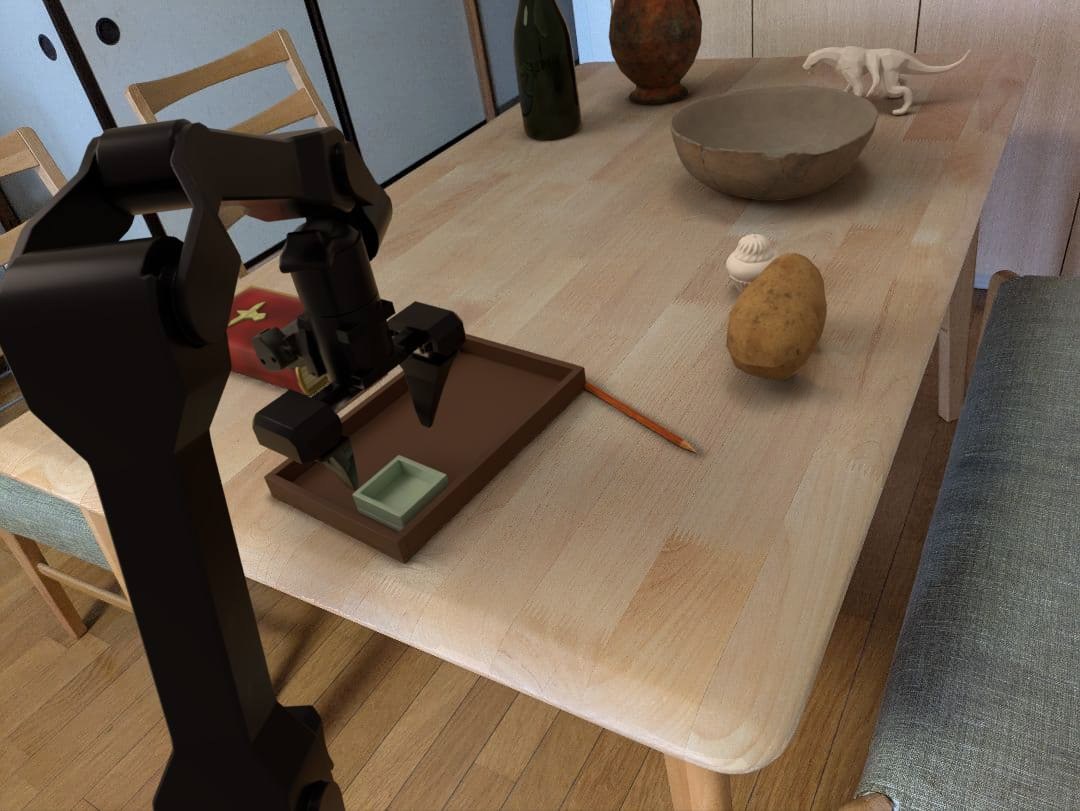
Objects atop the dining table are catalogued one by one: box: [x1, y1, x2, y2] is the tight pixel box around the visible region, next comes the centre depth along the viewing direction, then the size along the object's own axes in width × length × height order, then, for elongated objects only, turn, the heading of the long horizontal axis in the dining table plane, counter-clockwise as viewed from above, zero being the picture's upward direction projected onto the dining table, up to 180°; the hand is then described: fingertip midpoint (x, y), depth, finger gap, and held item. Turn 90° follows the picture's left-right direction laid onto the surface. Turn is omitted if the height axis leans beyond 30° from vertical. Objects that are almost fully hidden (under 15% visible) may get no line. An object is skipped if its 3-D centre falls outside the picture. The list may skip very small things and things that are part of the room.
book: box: [227, 284, 329, 397], centre depth 100 cm, size 12×21×4 cm, turn 57°
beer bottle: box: [512, 0, 582, 141], centre depth 141 cm, size 10×10×33 cm
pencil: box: [584, 380, 697, 453], centre depth 82 cm, size 1×18×1 cm, turn 37°
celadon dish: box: [352, 455, 449, 532], centre depth 74 cm, size 6×6×2 cm
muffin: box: [725, 233, 781, 294], centre depth 95 cm, size 6×6×7 cm
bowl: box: [669, 85, 879, 201], centre depth 118 cm, size 28×28×10 cm
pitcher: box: [608, 0, 703, 106], centre depth 149 cm, size 17×21×30 cm
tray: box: [263, 332, 587, 564], centre depth 82 cm, size 28×18×2 cm, turn 144°
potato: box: [725, 252, 828, 380], centre depth 83 cm, size 9×16×9 cm, turn 149°
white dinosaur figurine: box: [802, 45, 972, 116], centre depth 135 cm, size 12×25×10 cm, turn 76°
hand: (391, 455), depth 72 cm, fingers open, 9 cm apart
